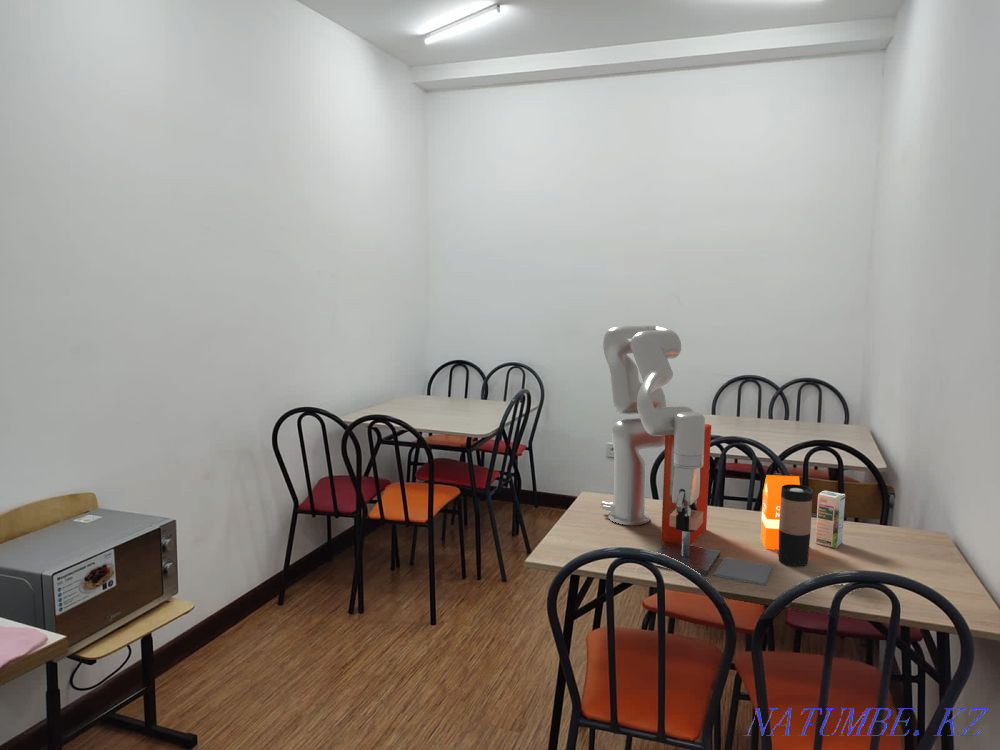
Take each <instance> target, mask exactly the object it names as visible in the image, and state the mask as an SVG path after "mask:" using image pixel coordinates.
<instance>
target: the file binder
mask: <svg viewBox="0 0 1000 750" xmlns="http://www.w3.org/2000/svg"><path fill="white" fill-rule="evenodd" d="M711 435H712V424H708V423H705V432H704V460H703V467H702V468H700V491H699V497H698V498H697V499H696V500H697V506H696V507H697V511H703V523H702V524H701V525H700V527H699V528H698V530H697V531H694V532H690V546H692V544H693V543H694V542H695V541H696V540H697V539H698V538H699V537H700V536H701V535H702V534H703V533H704V532H705V531H706V530H707V521H708V520H707V519H708V502H709V501H708V500H709V478H710V460H711V459H710V458H711V443H712V442H711V440H712V439H711V438H712V436H711ZM663 464H664V465H663V487H662V507H661V508H662V511H661V513H662V515H661V535H660V536H661V537H660V541H661V543H662V544H663V543H664V542H665V541H668V542H674V543H679V544H682V531H679V530H677V529H675V527H672V526H669V521H670V514H671V513H672V512H673V511H674V510H675V509H676V508H677V506H676V505H677V503H675V504H674V503H673V502H672V496H673V483H674V474H675V468H676V466H675V465H674V435H665V446H664V463H663ZM683 503H685V502H683ZM685 504H686V503H685ZM683 507H684V506H683Z"/></svg>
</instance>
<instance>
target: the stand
mask: <svg viewBox="0 0 1000 750" xmlns="http://www.w3.org/2000/svg"><path fill="white" fill-rule="evenodd" d="M683 508H685V510H686V507H683ZM688 516H691V508H690V507H689V511H688ZM675 529H676V527H675ZM697 530H698V529H697ZM697 530H690V529H689V530H688V531H683V530H679V531H682V544H679V543H674V542H668V541H665V542H664V543H663V542H662V544H661V545H660V547H659V548H657V550H656V551H655V552H658V553H661V554H665V555H667V556H669V557H671V558H674V559H676V560H678V561H680V562H682V563H684V564H685V565H687V566H689V567H690V568H692V569H694V570H695V571H697V572H698V573H700V574H701V575H702V576H703V577H708V576H709V574H710V572H711V571H712V569H713V568H714V566H715V565H716V564H717V562H718V561H719V559H720V557H721V554H722V553H721V552H722V551H721V550H719V549H718V550H716V549H711V548H706V547H700V546H697V545H695V546H694V545H690V532H694V531H697ZM656 567H657V568H661V567H660V566H656ZM701 575H700V576H701Z"/></svg>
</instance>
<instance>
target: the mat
mask: <svg viewBox="0 0 1000 750" xmlns="http://www.w3.org/2000/svg"><path fill="white" fill-rule="evenodd" d="M773 566H774V565H769V564H764V563H759V562H754V561H748V560H741V559H737V558H731V557H724V558H723V559H722V561H721V563H720V564H719V565H718V567H717V569H716V570H715V572H714V573H713V574H714V575H715V577H719V576H720V578H724V577H725V579H729V578H730V580H734V579H735V580H734V581H739V580H740V582H744V581H745V582H744V583H749V582H750V583H749V584H753V585H759V586H763V587H764V586H766V584H767V581H768V579H769V577H770V575H771V572H772V570H773Z"/></svg>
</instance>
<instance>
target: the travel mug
mask: <svg viewBox="0 0 1000 750" xmlns="http://www.w3.org/2000/svg"><path fill="white" fill-rule="evenodd" d="M812 507H813V489H812V488H811V487H809V486H806V485H802V484H800V485H795V484H788V485H783V486H782V488H781V504H780V520H779V550H778V561H779V563H780V564H782V565H785V566H788V567H792V568H804V567H806V566H808V564H809V563H808V562H809V554H810V553H809V552H810V543H811V542H810V541H811V532H812V530H811V528H812V513H813V512H812V509H813V508H812Z"/></svg>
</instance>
